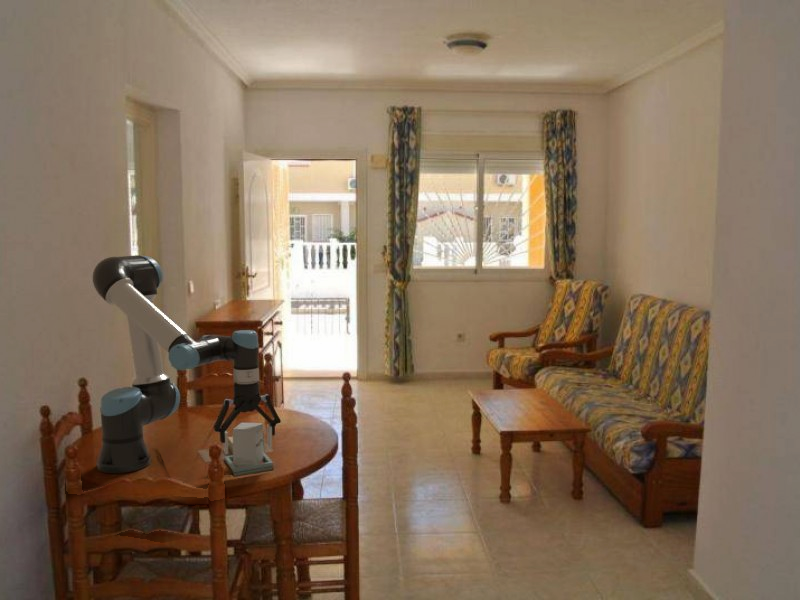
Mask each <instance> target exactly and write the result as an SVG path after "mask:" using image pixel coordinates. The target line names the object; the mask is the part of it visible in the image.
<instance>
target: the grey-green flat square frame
mask: <svg viewBox="0 0 800 600" xmlns="http://www.w3.org/2000/svg"><path fill="white" fill-rule="evenodd" d="M263 454H264V460H263V461H264V462H261V463H260V464H253V465H247V466H241V467H236V466H235V465H234V464H233V461H232V460H233V455H231V456H225V459H224V461H225V463H226V464H227V465H228V467H229V468H230V470H231V471H232V473H230V474H231V475H232V477H233V478H237V477H243V476H248V475H254V474H260V473H266V472H271V471H274V462H273V461H272V459H271V458H270V457H269V456H268V455H267V453H264V452H263Z"/></svg>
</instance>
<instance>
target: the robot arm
mask: <svg viewBox="0 0 800 600" xmlns="http://www.w3.org/2000/svg"><path fill="white" fill-rule="evenodd" d="M163 276H164V275H163V272H162V268H161V265H160V264H159V263H158V262H157V260H155V259H154V258H152V257H151V256H148V255H140V254H139V255H137V254H135V255H126V256H125V255H124V256H109V257H105V258H104V259H102V260H100V261H99V262H98V264H97V265H96V266H95V267H94V269H93V272H92V283H93V284H92V285H93V287H94V289H95V291H96V293H97V294H98V295H99V296H100V298H102V299H103V300H104V301H105V302H106V304H107V303H108V304H109V305H115V306H116V307H117V308H119V310H120V311H121V312H123V313H124V315H126V318H127V326H128V330H129V338H130V344H131V351H132V359H133V364H134V371H135V378H134V379H133V381H132V382H131V385H132V386H125V387H124V386H123V387H121V388H115V389H112V390H110V391H107V392H106V393H105V394H103V395H102V397H101V400H100V407H99V408H100V410H99V411H100V420H101V421H100V423H101V435H102V436H101V437H102V443H101V447H100V450H99V455H98V458H97V471H99V472H101V473H104V474H123V473H130V472H131V473H132V472H136V471H138V470H141V469H144V468H146V467H147V466H149V465H150V463H151V454H150V452H149V449H148V447H147V444H146V442H145V440H144V426H146V425H149V424H152V423H155V422H157V421H161V420H164V419H166V418H168V417H169V416H171V415H173V414H175V412H176V411H177V409H178V408H179V406H180V402H181V401H180V400H181V395H180V390H179V389H178V387H177V386H176V384H175V383H174V382H172V381H171V380H170V379H171V378H170V376H169V375H168V374H166V373H165V372H164V366H163V365H164V364H163V357H162V351H161V348H163V349H164V350H165V351H166V352H167V353H168V356H167V357H168V361H169V363H170V365H171V367H173V368H174V369H175V370H177V371H187V370H193V369H195V368H196V367H201V366H203V365H207V364H211V363H214V362H218V361H227V362H232V364H233V365H232V366H233V367H232V369H233V381H234V383H233V395H234V396H233V399H228V398H224V399H223V403H222V407H221V410H220V412H219V414H218V416H217V418H216V421H215V423H214V425H213V427H212V428H213V431H215V433H216V432H217V433H219V441H220V443H221V444H223V447H224V452H225V454H228V437H229V436H228V431H227V430H228V429H229V428H230V426H231V424H233V422H234V420H235V419H236V418H237V417H238V415H240V413H243V414H244V413H248V412H250V413H251V412H254V411H255V410H256V411H257V412H258V413H259V415H261V417H262V418H264V419H265V421H267V423H268V424H266V433H267V434H266V435H267V436H266V437H267V438H266V439H267V442H266V443H267V445H268V446H269V447H271V448H273V436H275V434H276V425H277V424H280V423H281V422H282V421H281V418H280V417H279V415H278V413H277V412H276V409H275V408H274V405H273V404H272V402H271V396H270V395H269V394H268V393H264V395H260V382H259V380H260V369H259V367H260V366H259V345H260V344H259V337H258V336H259V335H258V333H257V332H256V331H255V330H253V329H246V330H245V329H244V330H243V329H242V330H235V331H233V332H232V336H229V335H228V336H226V335H217V334H205V335H202V336H201V338H199V339H197V340H195V339H193V338H192V337H191V336H190V335H189V334H187V332H185V331H184V330H183V329H182V328H181V327H180V326H178V325H177V324H176V323H175V322H174V321H173V320H172V319H171V318H170V317H168V316H167V314H165V313H164V312H163V311H162V310H160V309H159V307H157V306H156V305H155V302H154V301H155V299H156V298H157V297H158V289H159V287H160V286H161V284H162V282H163V278H164V277H163ZM262 401H263V403H265V405H266V407H267V408H268V411H269V412H270V414H271V417H273V419H272V418H271V417H270V416H269V415H268V414H267V413H266V412H265V411H264V410H263V409H262V408H261V407H260V406H259V405H260V403H261V402H262ZM232 404H233V405H234V408H233V409H232V411H231V412H230V414H229V415H228V417H227V418H226V415H227V413H228V411H229V408H231V406H232ZM225 418H226V419H225Z"/></svg>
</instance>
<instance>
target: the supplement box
mask: <svg viewBox="0 0 800 600" xmlns="http://www.w3.org/2000/svg"><path fill="white" fill-rule="evenodd" d="M263 431H264V423H260V422H240V423H239V424H238V425H237V426H235V427H234V428H232V436H233V461H232V462H233V464H234V465H235V466H236V467H241V466H247V465H253V464H260V463H263V461H265V460H264V454H263Z"/></svg>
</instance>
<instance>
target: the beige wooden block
mask: <svg viewBox="0 0 800 600" xmlns="http://www.w3.org/2000/svg"><path fill="white" fill-rule="evenodd" d="M228 448H229V450H230V451H231V452H232V454H233V435H232V436H228Z"/></svg>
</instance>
